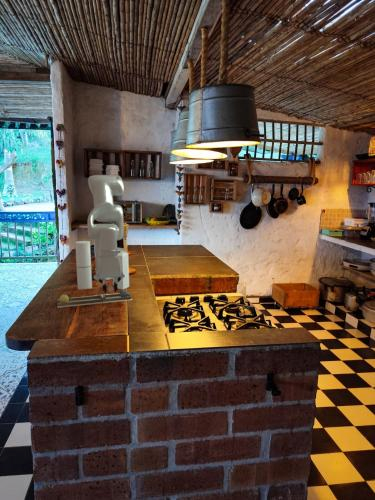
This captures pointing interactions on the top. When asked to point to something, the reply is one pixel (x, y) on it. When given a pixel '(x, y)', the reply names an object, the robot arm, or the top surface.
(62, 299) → the ochre ball
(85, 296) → the board
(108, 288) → the terracotta ball
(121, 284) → the milk
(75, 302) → the wooden picture frame
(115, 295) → the wooden rectangular frame
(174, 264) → the top surface
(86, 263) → the cylindrical container
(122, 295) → the charcoal ball
